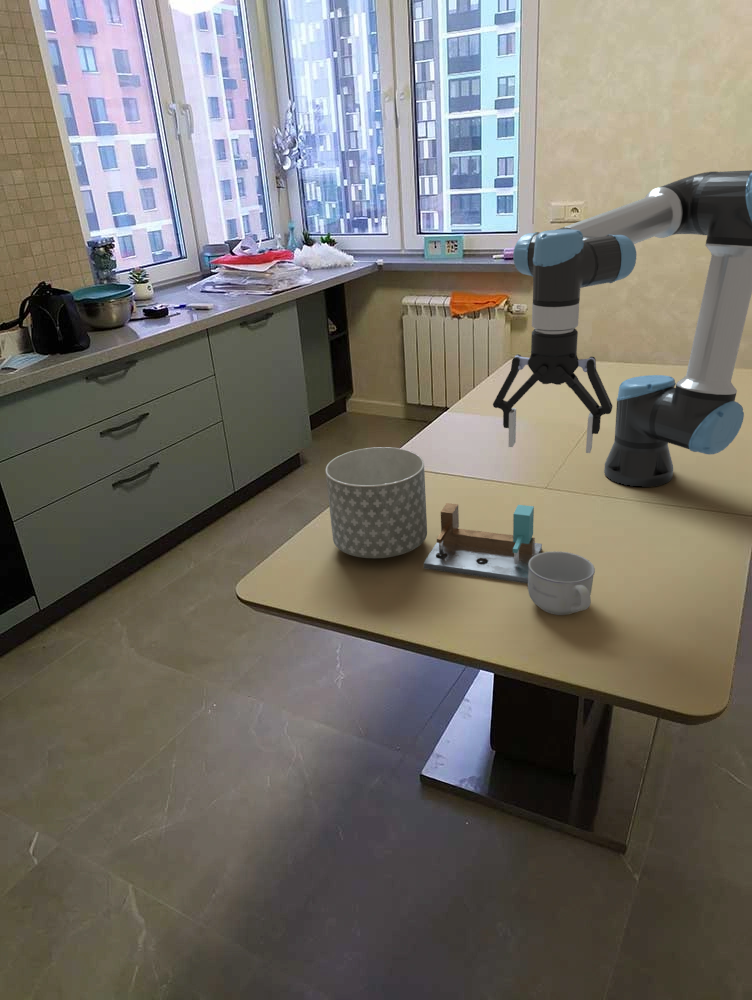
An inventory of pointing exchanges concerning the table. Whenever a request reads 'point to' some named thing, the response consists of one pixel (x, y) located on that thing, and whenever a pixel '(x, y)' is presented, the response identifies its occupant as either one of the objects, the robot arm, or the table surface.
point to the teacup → (560, 582)
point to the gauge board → (478, 551)
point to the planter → (377, 501)
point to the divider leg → (522, 528)
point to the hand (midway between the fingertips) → (549, 447)
